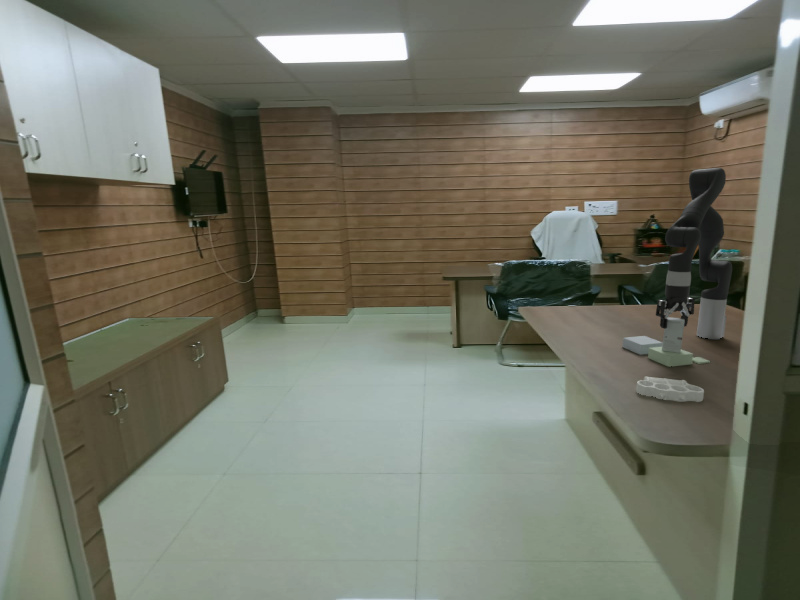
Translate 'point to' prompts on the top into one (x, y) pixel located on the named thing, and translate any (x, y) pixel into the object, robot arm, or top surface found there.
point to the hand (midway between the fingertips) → (673, 327)
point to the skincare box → (673, 335)
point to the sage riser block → (670, 357)
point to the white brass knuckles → (669, 389)
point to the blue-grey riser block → (640, 344)
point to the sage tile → (699, 360)
